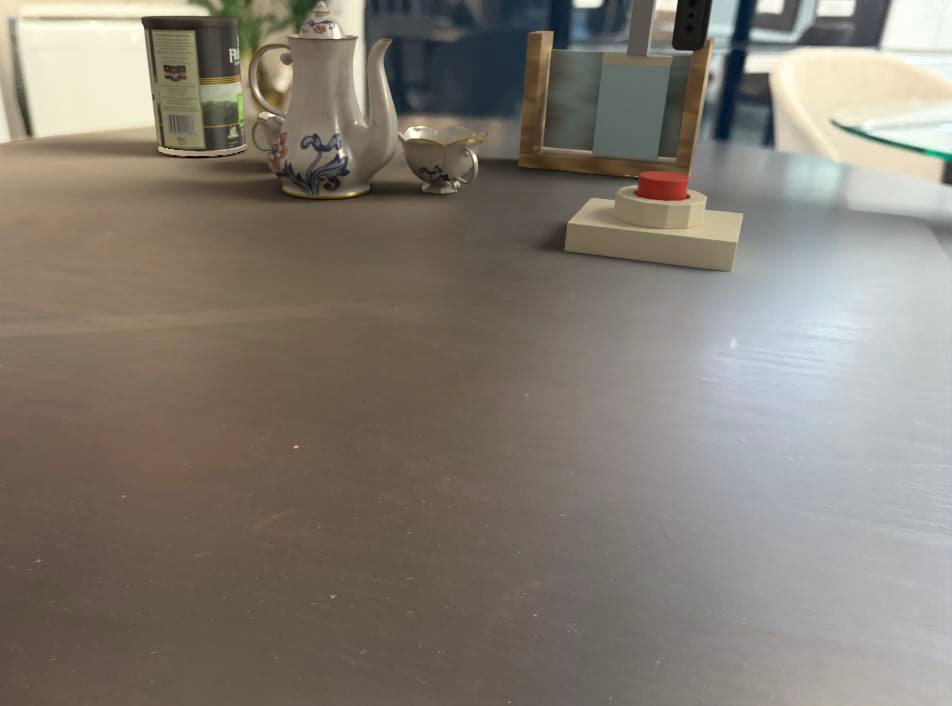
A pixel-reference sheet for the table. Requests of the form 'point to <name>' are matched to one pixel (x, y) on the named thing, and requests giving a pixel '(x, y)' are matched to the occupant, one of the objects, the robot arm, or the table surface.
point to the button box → (656, 230)
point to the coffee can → (195, 82)
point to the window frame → (575, 109)
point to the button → (662, 186)
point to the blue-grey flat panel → (633, 93)
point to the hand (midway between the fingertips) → (688, 49)
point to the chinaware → (348, 122)
